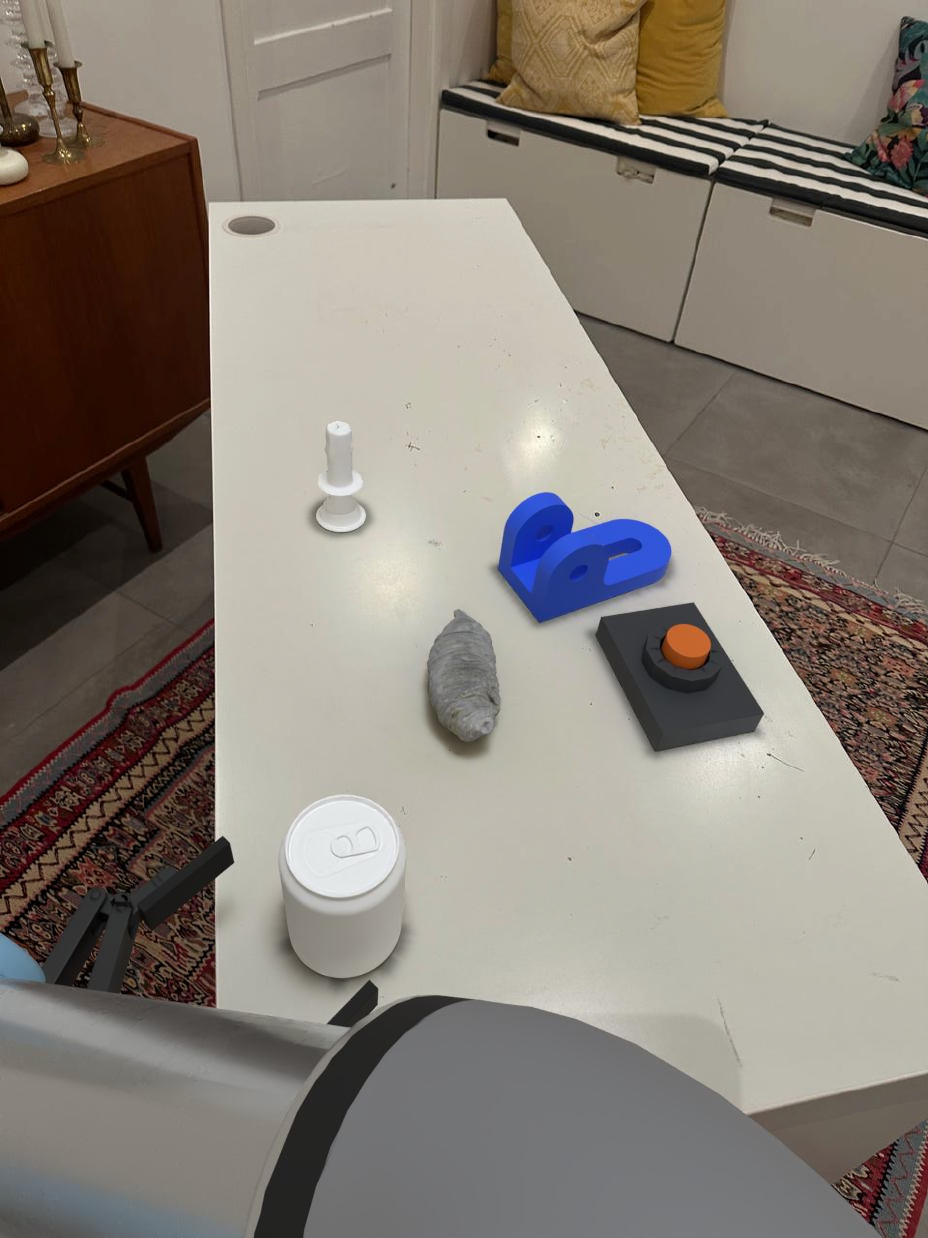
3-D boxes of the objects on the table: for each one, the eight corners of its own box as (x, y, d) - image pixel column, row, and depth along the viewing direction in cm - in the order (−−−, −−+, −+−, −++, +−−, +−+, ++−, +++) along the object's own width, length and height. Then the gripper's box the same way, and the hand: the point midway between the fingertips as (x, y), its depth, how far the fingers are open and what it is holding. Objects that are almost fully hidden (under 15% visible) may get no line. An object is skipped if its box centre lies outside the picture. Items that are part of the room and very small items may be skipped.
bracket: (539, 623, 85) (554, 555, 79) (497, 569, 90) (508, 502, 84) (682, 572, 92) (706, 507, 86) (636, 525, 97) (655, 460, 91)
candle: (348, 539, 91) (347, 445, 83) (306, 521, 93) (300, 426, 84) (375, 512, 95) (376, 418, 86) (333, 495, 96) (331, 401, 88)
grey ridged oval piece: (497, 611, 82) (491, 578, 75) (506, 753, 77) (500, 733, 70) (431, 616, 83) (418, 584, 75) (435, 757, 78) (421, 738, 70)
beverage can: (277, 892, 64) (264, 807, 56) (382, 860, 67) (385, 774, 58) (304, 998, 59) (293, 923, 51) (416, 959, 62) (425, 881, 53)
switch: (713, 666, 78) (718, 653, 77) (673, 673, 77) (678, 660, 76) (693, 633, 81) (698, 620, 79) (654, 640, 80) (659, 627, 78)
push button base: (754, 731, 78) (771, 700, 75) (654, 751, 76) (668, 721, 73) (686, 620, 87) (699, 589, 84) (595, 635, 85) (604, 603, 82)
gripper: (-120, 1058, 51) (184, 825, 63) (134, 1446, 41) (439, 1081, 52) (-177, 1012, 45) (167, 767, 57) (99, 1447, 35) (448, 1040, 47)
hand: (298, 916), depth 55 cm, fingers open, 13 cm apart
